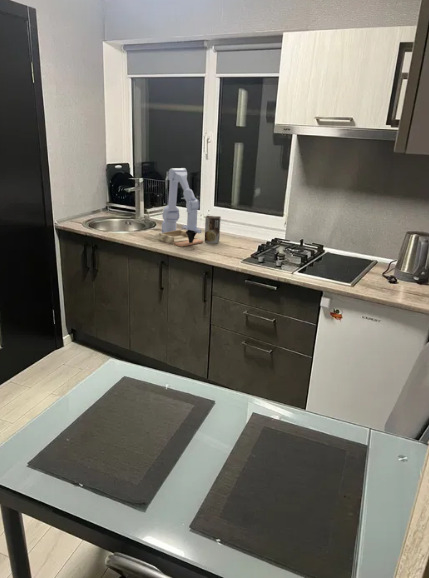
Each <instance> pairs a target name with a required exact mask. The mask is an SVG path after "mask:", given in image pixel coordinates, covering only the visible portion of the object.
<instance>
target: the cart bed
mask: <svg viewBox="0 0 429 578" xmlns="http://www.w3.org/2000/svg"><path fill="white" fill-rule="evenodd" d="M186 231H187V230H185V229H176V231H170V232H164V233H161V232H159V235H158V236H159V237H158V240H159V241H162V242H165V243H168V244H171V245H174V243H178V242H183V241H188V240H189V239H188V235H187V233H186ZM194 239H196V238H195V237H194Z"/></svg>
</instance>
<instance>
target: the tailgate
mask: <svg viewBox="0 0 429 578" xmlns="http://www.w3.org/2000/svg"><path fill="white" fill-rule="evenodd" d="M201 243H204V240H202V239H197V238H195V239H194V240H193V242H192V243H189V240H188V241H183V242H178V243H174V244H173V245H174V246H178V247H180V248H183V247H186V246H188V247H189V246H193V245H197V244H201Z"/></svg>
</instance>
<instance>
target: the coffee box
mask: <svg viewBox="0 0 429 578" xmlns="http://www.w3.org/2000/svg"><path fill="white" fill-rule="evenodd" d="M221 217H222V216H217V215H216V216H215V215H206V216H205V221H204V222H205V223H204V224H205V225H204V226H205V227H204V240H203V243H212V244H219V243H220V237H221V236H220V234H221V219H222V218H221Z"/></svg>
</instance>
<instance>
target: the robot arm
mask: <svg viewBox="0 0 429 578" xmlns="http://www.w3.org/2000/svg"><path fill="white" fill-rule="evenodd" d="M167 177H168V179H167V180H168V181H169V186H168V187H169V189H168V190H169V191H168V203H167V206H165V207H164V208H163V212H162V222H161V232H160V233H164V232H170V231H176V230H177V222H178V221H179V219H180V217H181V216H180V215H181V214H180V209H179V208H178V207H177V199H178V198H177V197H178V183H179V184H180V187H181V188H182V190H183V193H182V195H183V197H184V200H185V201H186V202H185V203H186V204H185V207H186V213H187V216H186V217H187V219H186V221H187V222H186V225H185V224H183V225H182V227H181V228H182V229H181V230H185V231H186V233H187V235H188V239H189V243H192V242H193V240H194V238H195V237H196V235H197V234H202V229H199V227H197V226H198V224H197V223H198V210H200V207H201V205H200V200H199V199H198V198H196V197H195V194H194V191H193V190H192V189H191V188H190V186H189V182H188V179H187V178H188V171H187V168H185V167H181V168H173V167H172V168H170V169H168V176H167Z"/></svg>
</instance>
